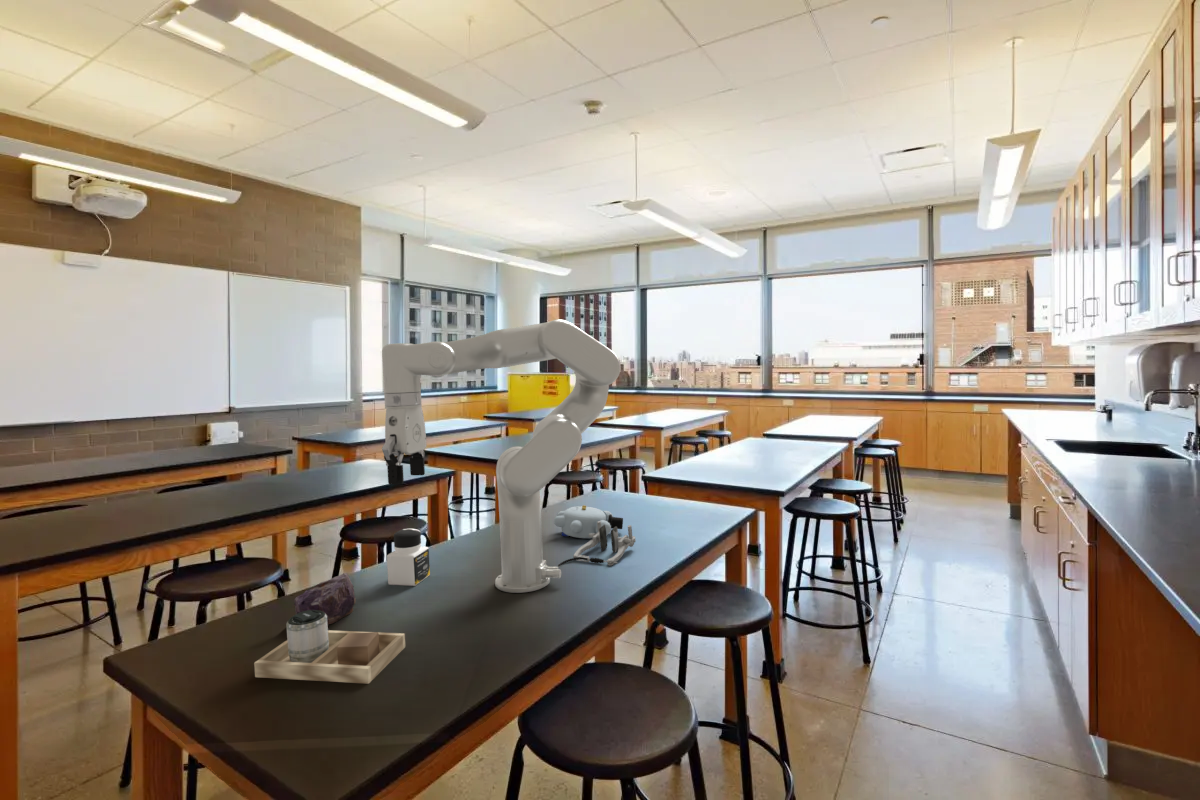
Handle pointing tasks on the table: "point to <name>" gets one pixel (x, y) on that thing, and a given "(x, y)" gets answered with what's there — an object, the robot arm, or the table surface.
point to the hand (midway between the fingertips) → (407, 479)
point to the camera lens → (307, 636)
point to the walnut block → (358, 649)
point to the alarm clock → (585, 521)
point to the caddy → (330, 661)
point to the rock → (329, 598)
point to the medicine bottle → (408, 559)
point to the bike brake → (605, 545)
